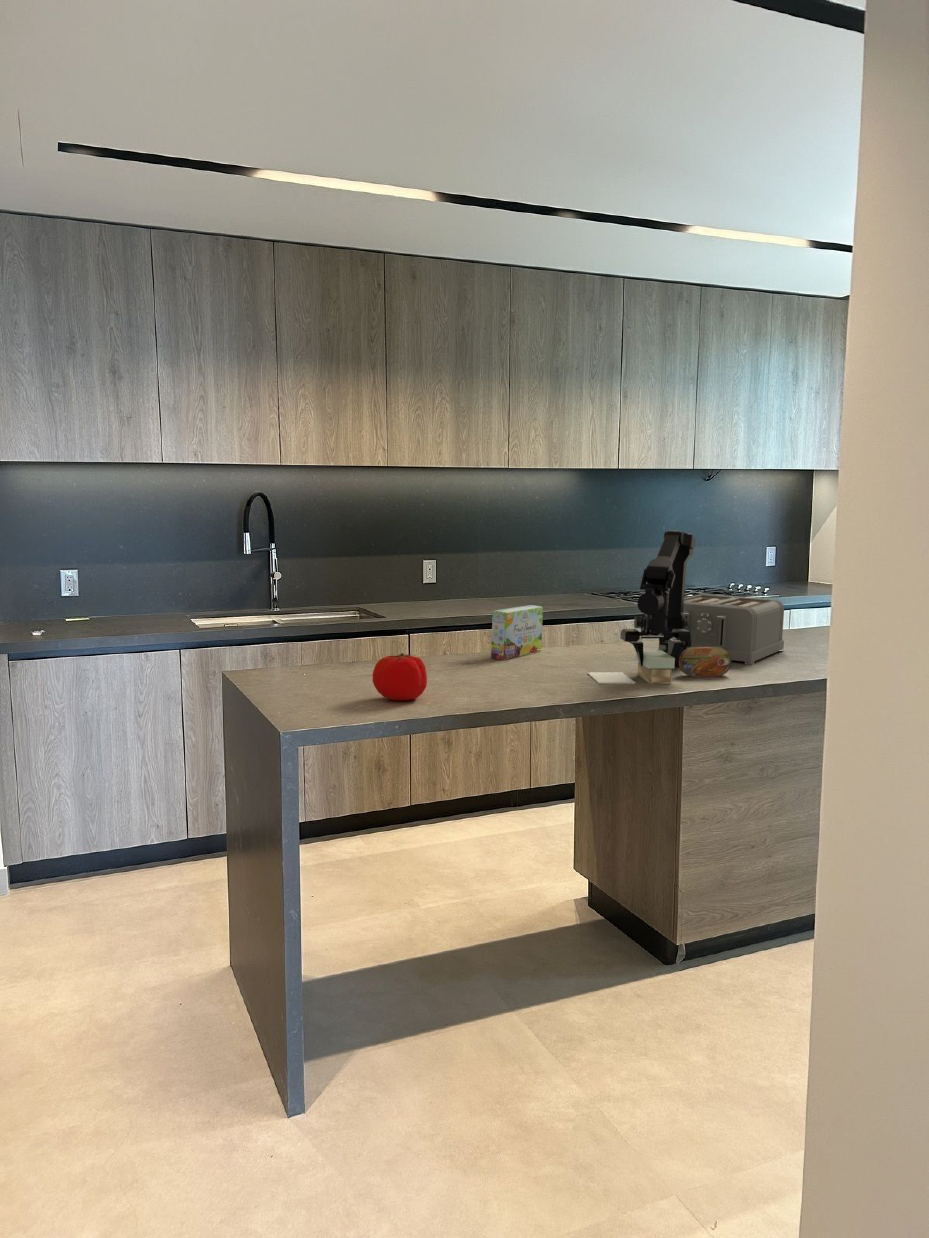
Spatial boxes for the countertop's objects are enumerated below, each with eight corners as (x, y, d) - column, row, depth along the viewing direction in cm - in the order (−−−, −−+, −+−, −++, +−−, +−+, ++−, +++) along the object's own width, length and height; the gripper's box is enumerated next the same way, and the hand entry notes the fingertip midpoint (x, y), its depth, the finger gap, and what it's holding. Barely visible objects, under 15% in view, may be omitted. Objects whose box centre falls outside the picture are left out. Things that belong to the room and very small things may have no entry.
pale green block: (660, 665, 263) (661, 650, 263) (674, 674, 251) (674, 658, 250) (635, 665, 263) (636, 650, 262) (648, 674, 250) (648, 658, 250)
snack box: (505, 661, 282) (506, 612, 280) (490, 658, 285) (491, 610, 283) (542, 652, 298) (543, 605, 296) (528, 649, 302) (529, 604, 300)
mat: (622, 673, 264) (622, 672, 264) (635, 683, 251) (635, 682, 251) (587, 673, 264) (587, 672, 263) (598, 684, 250) (599, 682, 250)
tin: (680, 677, 261) (682, 648, 260) (676, 675, 264) (678, 646, 263) (731, 676, 263) (732, 647, 262) (726, 674, 266) (728, 645, 265)
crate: (658, 674, 263) (658, 661, 263) (671, 683, 251) (671, 669, 251) (637, 675, 263) (638, 661, 262) (649, 683, 251) (650, 669, 250)
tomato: (427, 705, 223) (428, 658, 221) (372, 705, 222) (372, 658, 220) (425, 694, 235) (426, 649, 233) (372, 694, 234) (373, 649, 232)
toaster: (652, 655, 296) (655, 601, 293) (695, 641, 324) (697, 592, 322) (747, 667, 278) (750, 610, 276) (783, 651, 307) (787, 599, 304)
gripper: (680, 606, 263) (678, 660, 265) (616, 606, 262) (614, 660, 264) (693, 611, 252) (691, 668, 254) (626, 611, 251) (624, 668, 253)
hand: (654, 665), depth 257 cm, fingers closed on pale green block, 7 cm apart
